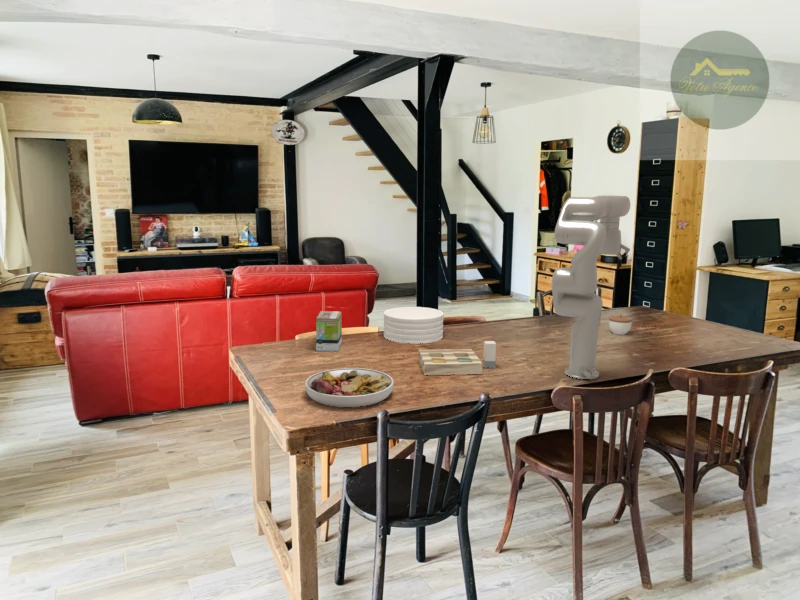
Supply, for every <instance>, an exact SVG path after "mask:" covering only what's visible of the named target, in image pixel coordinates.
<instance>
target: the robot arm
mask: <svg viewBox="0 0 800 600" xmlns="http://www.w3.org/2000/svg"><path fill="white" fill-rule="evenodd" d="M630 209H631V200H630V198H629V197H628V196H627V195H596V196H592V197H589V196H588V197H587V196H584V197H583V196H582V197H581V196H579V197H578V196H577V197H576V196H570V197H568V198H567V199H566V200H565V201H564V203H563V205H562V207H561V210H560V213H559V216H558V219H557V222H556V225H555V228H554V238H555V240H556V242H557V243H559V244H562V245H571V246H572V245H577V246H582V247H581V248H580V249H579V250H578V251H577V252H576V253H575V254H574V255H573V257H572V258H571V261H570V263H571V267H558V268H556V269H555V270H554V272H553V274H552V278H551V292H552V293H551V294H552V303H553V309H554V312H555V314H557V315H559V316H563V317H570V318H577V319H578V321H577V322H576V323H574V324H573V326H572V327H571V332H570V333H571V334H570V348H569V349H570V350H569V364H568V365H569V366H568V367H566V368H565V369H564V375H565V376H567V375H568V376H567V377H569V376H570V378H572V377H573V378H572V379H576V378H577V379H576V380H583V379H590V380H595V379H598V378H599V377H600V372H599V371H598V370H596V365H597V364H596V363H597V349H598V336H599V326H600V318H601V314H602V310H603V298H602V297H601V296H599V294H595V292H596V291H597V287H598V273H597V271H598V270H597V269H598V268H597V261H598V258H599V256H600V255H609V256H611V255H613V256H616V257H617V258H618V259H617V262H616V263H617V264H616V269H617V270H619V269H621V268H622V266H623V264H622V263H623V262H622V261H623V259H624V258H625V257H627V255H628V253H629V252H630V249H631V248H629V247H628V246H626V245H624V244H623V243H622V233H621V232H622V231H621V230H620V221H621V220H620V219H621V217H625V216H627V215H628V213H629V212H630ZM622 250H624V252H623V254H621V251H622Z"/></svg>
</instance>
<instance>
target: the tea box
mask: <svg viewBox="0 0 800 600" xmlns="http://www.w3.org/2000/svg"><path fill="white" fill-rule="evenodd" d="M342 313H343V312H342V311H337V310H336V311H331V310H330V311H327V310H326V311H325V310H320V312H318V314H317V316H316V318H315V320H316V321H315V323H316V324H315V327H316V329H315V335H316V336H315V350H316V351H318V352H319V351H320V352H338V351H339V350H340V348H341V344H342V342H343V341H342V337H343V335H342V333H343V332H342V331H343V329H342V328H343V327H342V326H343V325H342V324H343V323H342V322H343V321H342V319H343V318H342V316H343V314H342Z"/></svg>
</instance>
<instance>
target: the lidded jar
mask: <svg viewBox="0 0 800 600" xmlns="http://www.w3.org/2000/svg"><path fill="white" fill-rule="evenodd" d="M632 323H633V318H631V317H630V316H625V315H622V314H618V315H610V316H609V317H608V327H609V328H608V329H609V330H610V331H611V332H612V334H613V335H618V336H625V335H626V334H627V333H628V332H629V331H630V330H631V329H632Z"/></svg>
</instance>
